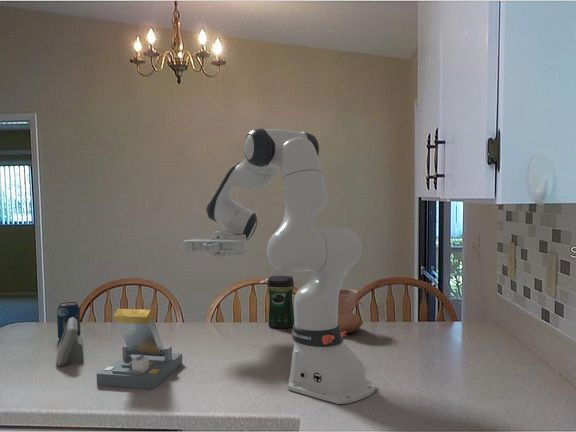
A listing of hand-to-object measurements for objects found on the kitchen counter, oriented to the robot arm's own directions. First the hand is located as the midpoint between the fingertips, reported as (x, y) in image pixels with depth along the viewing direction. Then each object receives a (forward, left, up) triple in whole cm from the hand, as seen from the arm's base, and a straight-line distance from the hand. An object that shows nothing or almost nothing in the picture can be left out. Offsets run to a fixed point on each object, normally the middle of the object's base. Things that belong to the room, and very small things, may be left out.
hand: (207, 247), depth 142 cm
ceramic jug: (-14, -45, -32) cm, 57 cm away
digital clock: (+23, +34, -32) cm, 52 cm away
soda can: (+43, +27, -32) cm, 60 cm away
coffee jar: (+5, -35, -32) cm, 47 cm away
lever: (-3, +21, -27) cm, 34 cm away
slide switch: (-10, +27, -29) cm, 40 cm away
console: (-4, +24, -32) cm, 40 cm away
